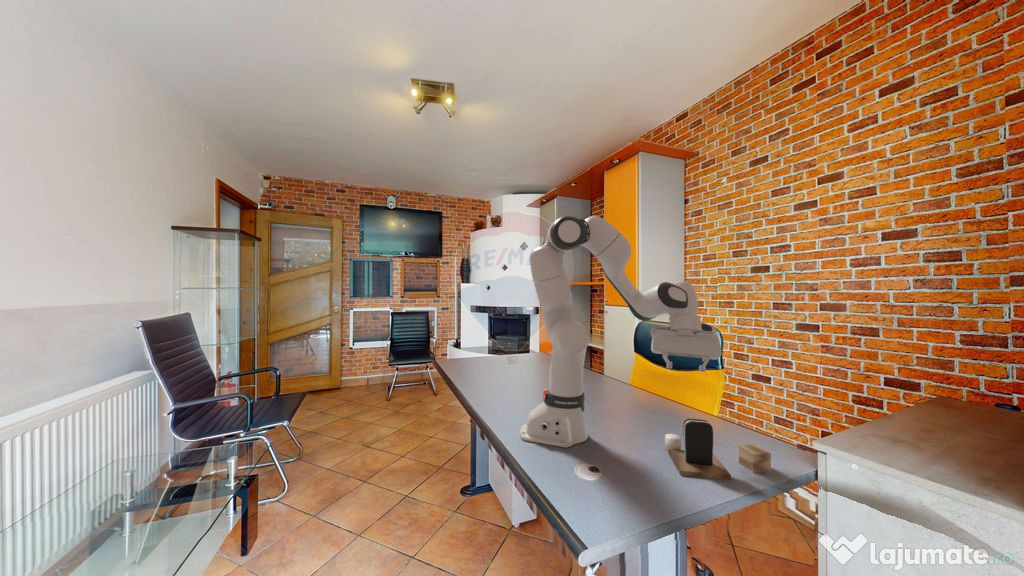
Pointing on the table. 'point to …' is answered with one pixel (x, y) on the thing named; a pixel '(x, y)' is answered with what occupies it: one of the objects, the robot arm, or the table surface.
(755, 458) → the oak cube
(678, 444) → the plastic capsule
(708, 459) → the battery charger
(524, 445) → the table surface
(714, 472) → the walnut pad
